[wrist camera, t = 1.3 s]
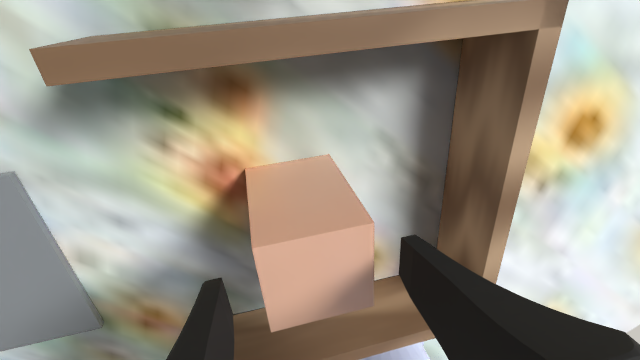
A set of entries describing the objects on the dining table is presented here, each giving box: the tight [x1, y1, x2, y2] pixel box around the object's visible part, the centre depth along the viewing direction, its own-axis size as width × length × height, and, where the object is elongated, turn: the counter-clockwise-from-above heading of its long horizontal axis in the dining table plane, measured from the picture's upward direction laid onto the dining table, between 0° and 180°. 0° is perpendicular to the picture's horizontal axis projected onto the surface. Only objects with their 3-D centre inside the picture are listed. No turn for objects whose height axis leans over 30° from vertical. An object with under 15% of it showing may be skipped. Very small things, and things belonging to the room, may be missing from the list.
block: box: [245, 154, 374, 332], centre depth 16 cm, size 4×4×6 cm
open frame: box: [29, 0, 569, 360], centre depth 17 cm, size 18×18×4 cm
